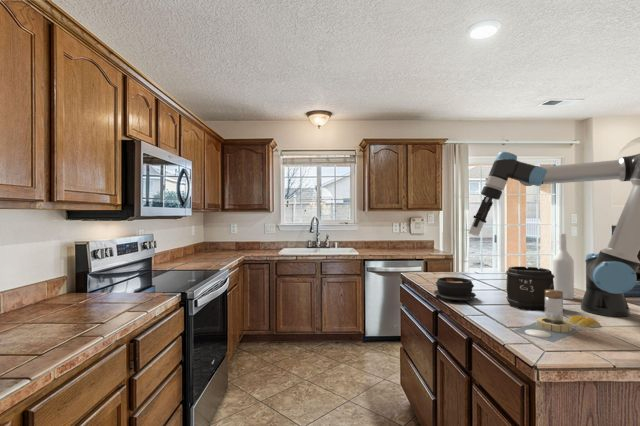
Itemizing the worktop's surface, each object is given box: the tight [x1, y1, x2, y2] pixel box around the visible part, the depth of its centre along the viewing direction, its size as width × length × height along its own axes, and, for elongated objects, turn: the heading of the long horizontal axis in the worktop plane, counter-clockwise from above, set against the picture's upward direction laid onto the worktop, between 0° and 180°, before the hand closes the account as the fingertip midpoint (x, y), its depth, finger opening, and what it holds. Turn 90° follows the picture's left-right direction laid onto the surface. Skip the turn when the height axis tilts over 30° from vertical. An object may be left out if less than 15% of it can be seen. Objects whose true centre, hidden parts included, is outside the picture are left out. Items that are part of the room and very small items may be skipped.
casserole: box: [433, 276, 477, 301], centre depth 164 cm, size 25×19×8 cm
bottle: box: [552, 232, 575, 300], centre depth 163 cm, size 8×8×30 cm
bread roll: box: [567, 315, 602, 328], centre depth 120 cm, size 8×9×4 cm
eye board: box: [512, 316, 582, 343], centre depth 112 cm, size 20×12×4 cm, turn 124°
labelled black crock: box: [505, 266, 554, 312], centre depth 149 cm, size 18×18×16 cm
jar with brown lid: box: [544, 289, 564, 324], centre depth 115 cm, size 5×5×12 cm
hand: (473, 234), depth 150 cm, fingers open, 13 cm apart
